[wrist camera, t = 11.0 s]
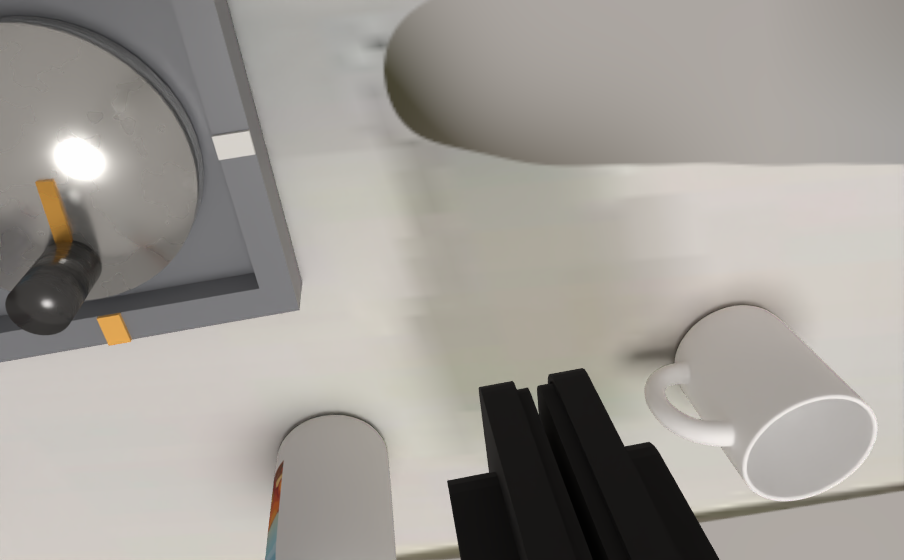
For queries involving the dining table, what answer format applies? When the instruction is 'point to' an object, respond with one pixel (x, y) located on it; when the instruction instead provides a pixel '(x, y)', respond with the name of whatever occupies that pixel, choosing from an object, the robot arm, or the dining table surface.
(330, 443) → the milk bottle
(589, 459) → the robot arm
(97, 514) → the dining table surface
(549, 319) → the dining table surface
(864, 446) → the mug
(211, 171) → the housing
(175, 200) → the dial
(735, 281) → the dining table surface
